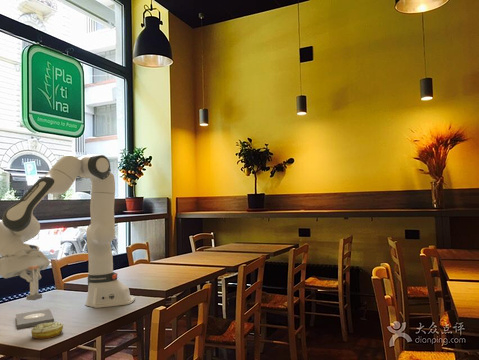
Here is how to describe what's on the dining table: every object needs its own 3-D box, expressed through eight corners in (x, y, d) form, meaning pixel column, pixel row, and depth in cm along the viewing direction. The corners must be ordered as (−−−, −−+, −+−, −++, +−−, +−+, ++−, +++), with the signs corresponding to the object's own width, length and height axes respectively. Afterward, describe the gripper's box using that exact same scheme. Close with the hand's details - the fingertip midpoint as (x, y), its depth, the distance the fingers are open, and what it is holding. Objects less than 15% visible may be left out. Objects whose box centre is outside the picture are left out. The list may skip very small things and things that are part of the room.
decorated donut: (55, 328, 150) (55, 318, 150) (68, 333, 143) (68, 323, 143) (26, 336, 142) (26, 325, 142) (39, 342, 135) (39, 331, 135)
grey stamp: (26, 299, 148) (25, 267, 149) (34, 297, 152) (33, 265, 152) (34, 300, 147) (33, 267, 147) (42, 297, 150) (41, 265, 151)
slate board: (15, 317, 165) (15, 314, 165) (49, 312, 172) (49, 308, 172) (17, 329, 150) (17, 324, 150) (54, 322, 157) (54, 318, 157)
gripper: (-5, 252, 143) (16, 279, 139) (41, 245, 162) (59, 269, 158) (-13, 264, 144) (7, 291, 140) (33, 255, 163) (51, 279, 159)
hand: (35, 279), depth 149 cm, fingers closed on grey stamp, 2 cm apart
